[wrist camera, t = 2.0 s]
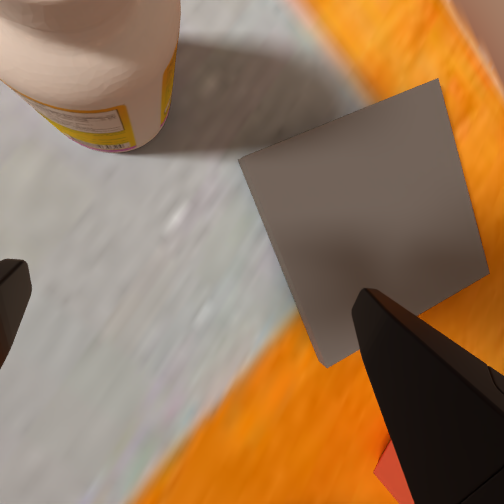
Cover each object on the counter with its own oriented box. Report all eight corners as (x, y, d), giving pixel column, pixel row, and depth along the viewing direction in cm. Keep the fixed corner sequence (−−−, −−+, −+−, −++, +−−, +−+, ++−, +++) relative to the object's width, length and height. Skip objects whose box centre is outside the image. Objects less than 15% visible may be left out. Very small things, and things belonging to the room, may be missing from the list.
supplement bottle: (119, 7, 19) (51, -396, 6) (193, 114, 20) (252, -42, 8) (11, 71, 18) (-323, -264, 5) (97, 179, 19) (-4, 114, 7)
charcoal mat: (475, 271, 27) (489, 273, 26) (319, 360, 24) (327, 368, 23) (424, 84, 24) (438, 78, 23) (237, 160, 21) (242, 157, 20)
